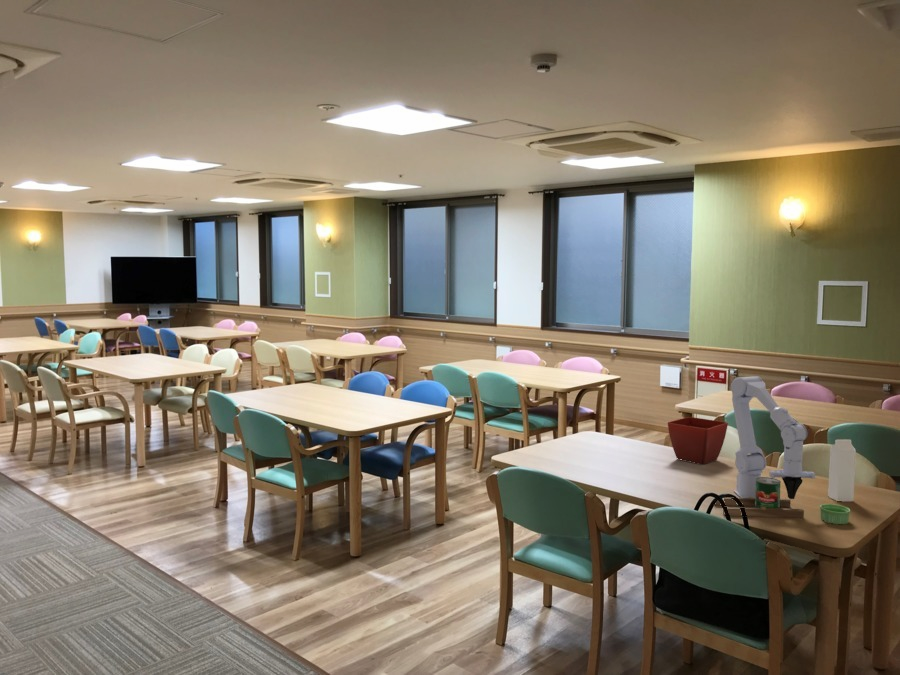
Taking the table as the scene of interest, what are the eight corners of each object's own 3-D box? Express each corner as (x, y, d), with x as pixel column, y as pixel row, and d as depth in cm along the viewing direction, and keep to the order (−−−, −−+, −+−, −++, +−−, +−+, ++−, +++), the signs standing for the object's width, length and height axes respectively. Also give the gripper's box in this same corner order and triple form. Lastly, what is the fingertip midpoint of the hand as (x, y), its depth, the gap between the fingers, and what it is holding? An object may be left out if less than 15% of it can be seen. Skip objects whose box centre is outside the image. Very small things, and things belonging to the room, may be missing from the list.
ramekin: (837, 515, 244) (838, 503, 244) (856, 524, 235) (856, 511, 235) (813, 517, 243) (813, 504, 242) (831, 526, 234) (831, 513, 233)
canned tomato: (773, 507, 252) (774, 476, 251) (783, 515, 244) (784, 483, 243) (750, 507, 252) (751, 476, 251) (760, 515, 244) (761, 483, 243)
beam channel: (713, 504, 256) (713, 496, 256) (788, 505, 254) (788, 497, 254) (724, 515, 243) (724, 507, 243) (803, 517, 242) (804, 509, 241)
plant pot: (665, 459, 318) (666, 421, 316) (687, 452, 330) (688, 416, 329) (705, 468, 303) (707, 428, 302) (727, 460, 316) (729, 422, 315)
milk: (853, 501, 259) (857, 441, 257) (837, 501, 259) (840, 441, 257) (843, 496, 265) (846, 437, 263) (827, 496, 265) (830, 437, 263)
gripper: (775, 462, 243) (773, 501, 244) (820, 462, 242) (817, 502, 243) (767, 456, 250) (766, 494, 251) (810, 457, 249) (809, 495, 250)
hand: (791, 498), depth 248 cm, fingers closed
